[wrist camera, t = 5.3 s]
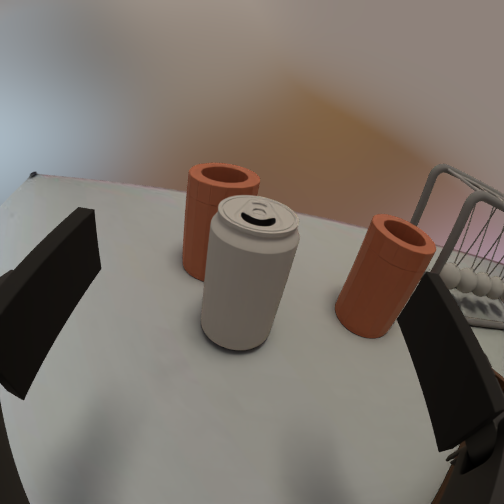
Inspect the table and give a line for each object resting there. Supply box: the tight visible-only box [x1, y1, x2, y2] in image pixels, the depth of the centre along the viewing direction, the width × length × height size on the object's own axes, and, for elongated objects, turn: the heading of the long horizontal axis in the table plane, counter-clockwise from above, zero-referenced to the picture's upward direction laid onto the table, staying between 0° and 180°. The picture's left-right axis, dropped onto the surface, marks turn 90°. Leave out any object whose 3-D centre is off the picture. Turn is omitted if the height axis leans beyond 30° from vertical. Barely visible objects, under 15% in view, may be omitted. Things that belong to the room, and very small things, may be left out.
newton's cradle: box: [410, 164, 504, 329], centre depth 31 cm, size 30×10×18 cm, turn 84°
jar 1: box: [182, 163, 260, 281], centre depth 31 cm, size 7×7×11 cm
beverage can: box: [201, 195, 300, 350], centre depth 23 cm, size 6×6×12 cm
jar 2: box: [335, 214, 436, 338], centre depth 28 cm, size 7×7×11 cm
